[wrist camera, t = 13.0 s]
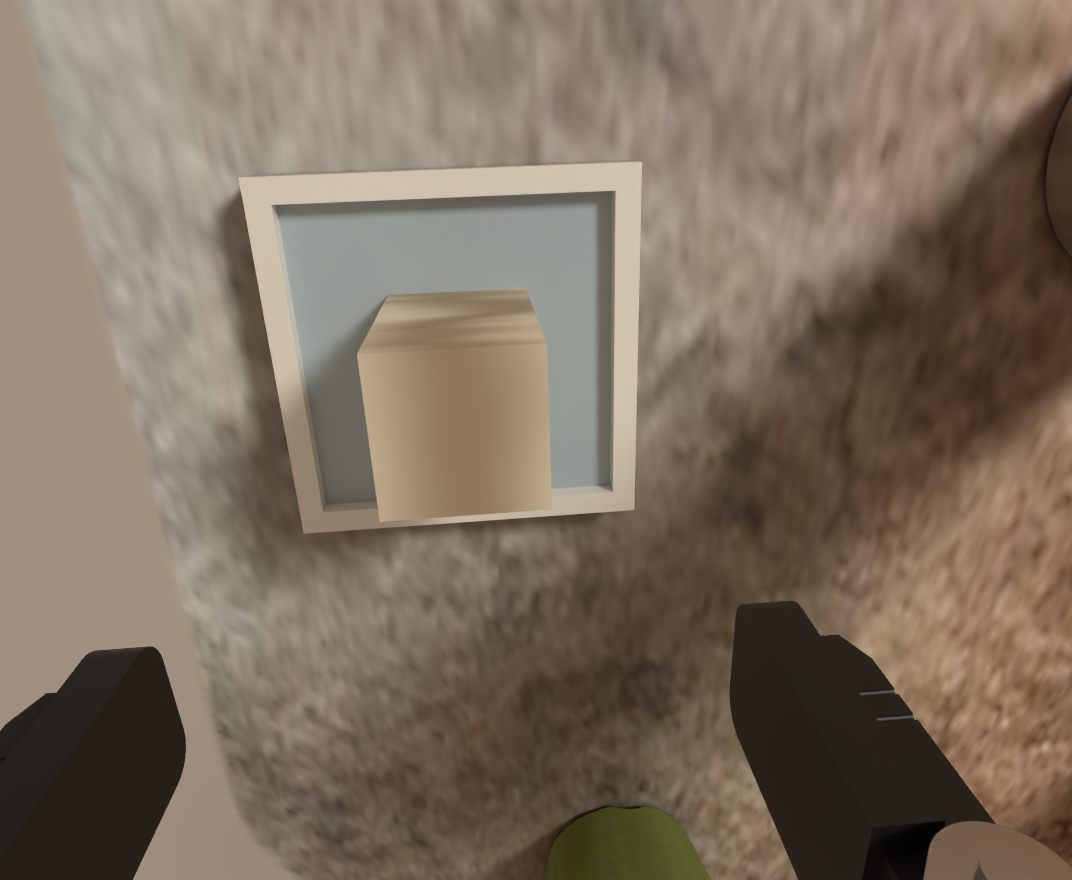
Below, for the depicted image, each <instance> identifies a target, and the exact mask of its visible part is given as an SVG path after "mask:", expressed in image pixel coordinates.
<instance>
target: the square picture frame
mask: <svg viewBox="0 0 1072 880" xmlns="http://www.w3.org/2000/svg"><path fill="white" fill-rule="evenodd" d="M641 179H642V162H640V161H632V160H628V161H602V162H576V163H551V164H525V165H500V166H474V167H449V168H423V169H398V170H372V171H347V172H321V173H296V174H270V175H251V176H245V177H239V183H240V188H241V194H242V199H243V205H244V210H245V216H246V221H247V227H248V232H249V238H250V243H251V249H252V254H253V259H254V265H255V270H256V276H257V281H258V287H259V292H260V298H261V303H262V309H263V314H264V320H265V325H266V331H267V336H268V342H269V347H270V352H271V358H272V363H273V369H274V374H275V380H276V385H277V391H278V396H279V402H280V407H281V413H282V418H283V424H284V429H285V434H286V440H287V445H288V451H289V456H290V462H291V467H292V473H293V478H294V484H295V489H296V495H297V500H298V506H299V511H300V517H301V522H302V527H303V533H304V534H306V533H320V532H334V531H348V530H362V529H376V528H390V527H404V526H418V525H432V524H446V523H460V522H474V521H488V520H502V519H516V518H530V517H544V516H558V515H572V514H585V513H599V512H613V511H627V510H634V500H635V454H636V408H637V363H638V317H639V271H640V225H641ZM515 288H526V290H527V292H528V295H529V298H530V300H531V303H532V306H533V308H534V311H535V313H536V316H537V319H538V321H539V324H540V326H541V329H542V332H543V334H544V337H545V339H546V342H547V360H548V392H549V425H550V457H551V490H552V509H550V510H537V511H523V512H509V513H495V514H482V515H468V516H454V517H441V518H427V519H413V520H400V521H386V522H380V520H379V512H378V505H377V498H376V490H375V483H374V476H373V469H372V461H371V454H370V447H369V439H368V432H367V425H366V418H365V410H364V403H363V396H362V388H361V381H360V374H359V367H358V359H357V353H358V351H359V349H360V347H361V345H362V343H363V342H364V340H365V338H366V336H367V334H368V332H369V330H370V328H371V326H372V324H373V322H374V321H375V319H376V317H377V315H378V313H379V311H380V309H381V307H382V305H383V303H384V301H385V299H386V298H387V296H388V295H401V294H420V293H439V292H458V291H477V290H496V289H515Z"/></svg>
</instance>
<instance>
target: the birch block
mask: <svg viewBox="0 0 1072 880" xmlns="http://www.w3.org/2000/svg"><path fill="white" fill-rule="evenodd" d="M357 359H358V367H359V374H360V381H361V388H362V396H363V403H364V410H365V418H366V425H367V432H368V439H369V447H370V454H371V461H372V469H373V476H374V483H375V490H376V498H377V505H378V512H379V520H380V522H386V521H400V520H413V519H427V518H441V517H454V516H468V515H482V514H495V513H509V512H523V511H537V510H550V509H552V490H551V457H550V425H549V392H548V360H547V342H546V339H545V337H544V334H543V332H542V329H541V326H540V324H539V321H538V319H537V316H536V313H535V311H534V308H533V306H532V303H531V300H530V298H529V295H528V292H527V290H526V288H515V289H496V290H477V291H458V292H439V293H420V294H401V295H388V296H387V298H386V299H385V301H384V303H383V305H382V307H381V309H380V311H379V313H378V315H377V317H376V319H375V321H374V322H373V324H372V326H371V328H370V330H369V332H368V334H367V336H366V338H365V340H364V342H363V343H362V345H361V347H360V349H359V351H358V353H357Z"/></svg>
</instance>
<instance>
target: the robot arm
mask: <svg viewBox="0 0 1072 880" xmlns="http://www.w3.org/2000/svg"><path fill="white" fill-rule="evenodd" d="M1045 184H1046V195H1047V207H1048V213H1049V216H1050V219H1051V222H1052V225H1053V228H1054V231H1055V234H1056V236H1057V237H1058V239H1059V240H1060V242H1061V243H1062V245H1063V246H1064V248H1065V249H1066V251H1067V252H1068V254H1069V255H1070V256H1071V257H1072V95H1071V97H1070V99H1069V101H1068V103H1067V105H1066V107H1065V109H1064V111H1063V113H1062V115H1061V117H1060V119H1059V121H1058V124H1057V128H1056V131H1055V134H1054V138H1053V141H1052V144H1051V148H1050V151H1049V156H1048V165H1047V174H1046V183H1045ZM730 706H731V713H732V719H733V723H734V727H735V731H736V734H737V736H738V739H739V741H740V744H741V746H742V748H743V751H744V753H745V755H746V758H747V760H748V763H749V765H750V767H751V770H752V772H753V774H754V777H755V779H756V781H757V784H758V786H759V788H760V791H761V793H762V795H763V798H764V800H765V802H766V805H767V807H768V810H769V812H770V814H771V817H772V819H773V821H774V824H775V826H776V828H777V831H778V833H779V835H780V838H781V840H782V842H783V845H784V847H785V849H786V852H787V854H788V856H789V859H790V861H791V864H792V866H793V868H794V871H795V873H796V875H797V878H798V880H1072V867H1071V866H1070V865H1069V864H1068V863H1067V862H1066V861H1064V860H1063V859H1062V858H1061V857H1060V856H1058V855H1057V854H1056V853H1055V852H1053V851H1052V850H1050V849H1049V848H1047V847H1046V846H1045V845H1043V844H1041V843H1040V842H1038V841H1036V840H1034V839H1033V838H1031V837H1029V836H1027V835H1025V834H1023V833H1020V832H1018V831H1016V830H1013V829H1011V828H1008V827H1005V826H1002V825H998V824H996V823H995V822H994V821H993V820H992V818H991V817H990V816H989V814H988V813H987V812H986V810H985V809H984V808H983V806H982V805H981V804H980V802H979V801H978V800H977V798H976V797H975V796H974V794H973V793H972V792H971V790H970V789H969V788H968V786H967V785H966V784H965V782H964V781H963V780H962V778H961V777H960V776H959V774H958V773H957V772H956V770H955V769H954V768H953V766H952V765H951V764H950V762H949V761H948V760H947V758H946V757H945V756H944V754H943V753H942V752H941V750H940V749H939V748H938V746H937V745H936V744H935V742H934V741H933V740H932V738H931V737H930V736H929V734H928V733H927V732H926V730H925V729H924V728H923V726H922V725H921V724H920V722H919V721H918V720H914V718H913V713H912V712H911V710H910V709H909V708H908V706H907V705H906V704H905V702H904V701H903V700H902V698H901V697H900V696H899V694H895V692H894V687H893V686H892V685H891V683H890V682H889V681H888V679H887V678H886V677H885V675H884V674H883V673H882V671H881V670H880V669H879V667H878V666H877V665H876V663H875V662H874V661H873V659H872V658H870V657H869V656H868V655H866V654H865V653H863V652H862V651H861V650H859V649H858V648H856V647H855V646H854V645H852V644H851V643H849V642H848V641H847V640H845V639H844V638H842V637H841V636H840V635H827V636H820V634H819V633H818V631H817V630H816V629H815V627H814V626H813V624H812V623H811V621H810V620H809V618H808V617H807V615H806V614H805V612H804V611H803V609H802V608H801V607H800V605H799V604H798V603H797V602H795V601H781V602H768V603H754V604H742V605H740V606H739V607H738V610H737V613H736V620H735V632H734V644H733V656H732V668H731V680H730ZM185 753H186V740H185V733H184V728H183V725H182V722H181V718H180V715H179V712H178V709H177V705H176V702H175V698H174V695H173V692H172V689H171V685H170V682H169V678H168V675H167V672H166V668H165V665H164V662H163V659H162V656H161V654H160V653H159V651H158V650H157V649H156V648H154V647H137V648H124V649H111V650H97V651H93V652H90V653H89V654H87V655H86V656H85V657H84V658H83V659H82V660H81V662H80V663H79V664H78V666H77V667H76V668H75V670H74V671H73V672H72V674H71V675H70V676H69V677H68V679H67V680H66V681H65V683H64V684H63V685H62V687H61V688H60V689H59V690H58V692H57V693H46V694H45V695H44V696H42V697H41V698H40V699H39V700H37V701H36V702H34V703H33V704H32V705H31V706H29V707H28V708H27V709H26V710H24V711H23V712H21V713H20V714H19V715H17V716H16V717H15V718H13V719H12V720H11V721H10V722H8V723H7V724H6V725H5V726H4V727H3V728H2V730H1V731H0V880H133V878H134V876H135V873H136V871H137V869H138V867H139V865H140V863H141V861H142V859H143V857H144V855H145V852H146V850H147V848H148V846H149V844H150V842H151V840H152V838H153V836H154V834H155V831H156V829H157V827H158V825H159V823H160V821H161V819H162V817H163V815H164V812H165V810H166V808H167V806H168V804H169V802H170V800H171V798H172V795H173V793H174V791H175V789H176V787H177V785H178V782H179V780H180V778H181V775H182V771H183V767H184V762H185Z"/></svg>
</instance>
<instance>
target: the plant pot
mask: <svg viewBox="0 0 1072 880" xmlns="http://www.w3.org/2000/svg"><path fill="white" fill-rule="evenodd" d="M546 880H711V879H710V877H709V875H708V873H707V871H706V869H705V867H704V865H703V864H702V862H701V860H700V858H699V856H698V854H697V852H696V850H695V849H694V847H693V845H692V843H691V841H690V839H689V837H688V836H687V834H686V832H685V830H684V829H683V827H682V826H681V824H680V823H679V822H678V821H677V820H675V819H674V818H673V817H671V816H670V815H669V814H667V813H665V812H663V811H661V810H658V809H655V808H652V807H647V806H642V807H640V808H637V809H623V808H618V807H607V808H603V809H600V810H597V811H594V812H592V813H589V814H587V815H585V816H583V817H581V818H579V819H578V820H576V821H574V822H573V823H572V824H571V825H569V826H568V827H567V828H566V829H564V830H563V832H562V833H561V834H560V835H559V836H558V837H557V839H556V840H555V841H554V843H553V845H552V847H551V849H550V853H549V857H548V862H547V867H546Z"/></svg>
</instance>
